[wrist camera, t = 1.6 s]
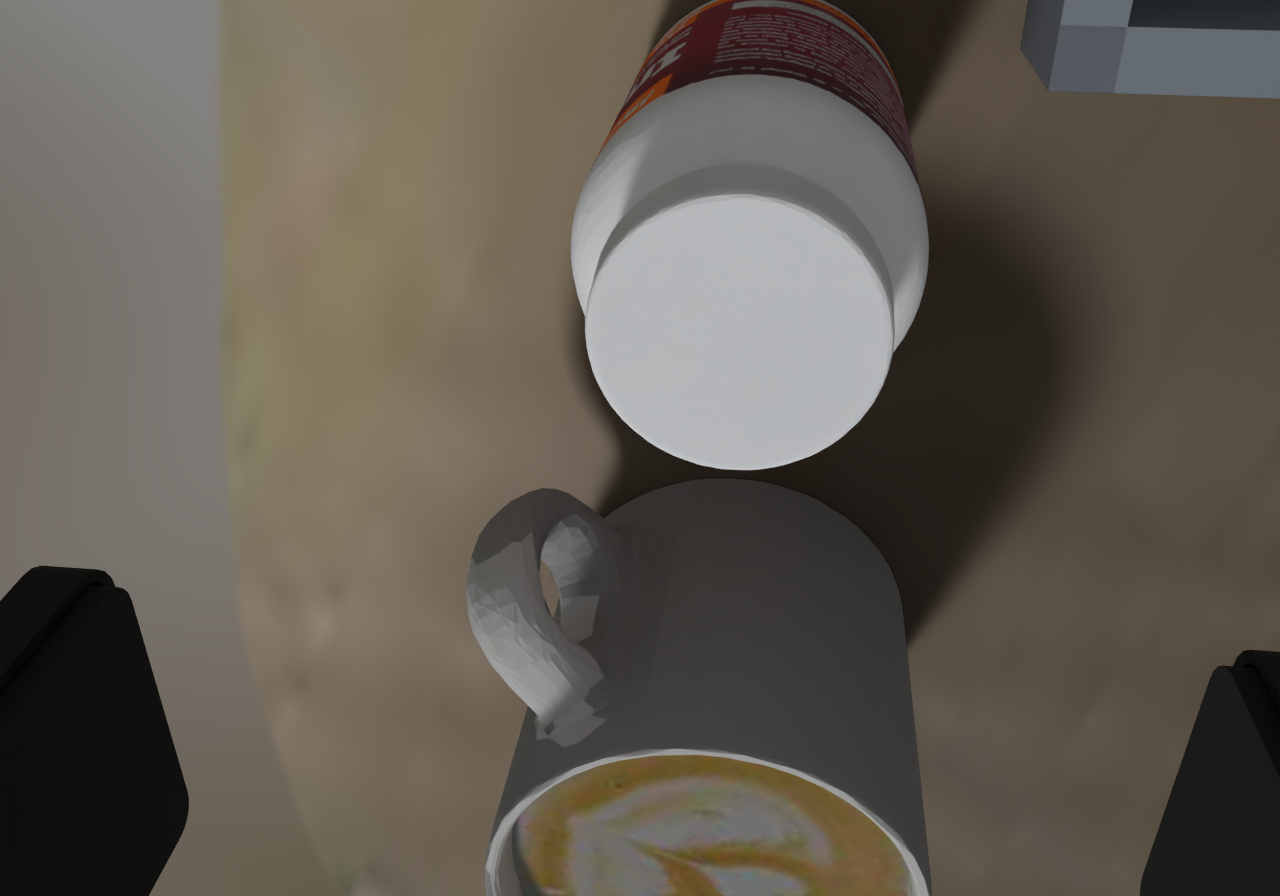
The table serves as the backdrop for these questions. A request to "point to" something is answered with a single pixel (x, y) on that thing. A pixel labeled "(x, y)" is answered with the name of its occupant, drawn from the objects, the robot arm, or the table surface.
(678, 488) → the coffee mug
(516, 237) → the table surface
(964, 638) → the table surface
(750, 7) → the pill bottle
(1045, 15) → the compartment rack
